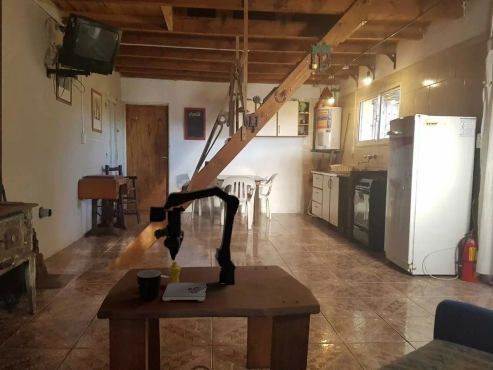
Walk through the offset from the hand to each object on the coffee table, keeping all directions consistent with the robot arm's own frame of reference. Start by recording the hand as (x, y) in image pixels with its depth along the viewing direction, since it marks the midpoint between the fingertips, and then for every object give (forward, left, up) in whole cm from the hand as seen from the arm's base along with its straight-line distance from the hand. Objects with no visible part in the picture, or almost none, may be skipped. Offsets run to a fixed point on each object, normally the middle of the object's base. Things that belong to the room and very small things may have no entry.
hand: (174, 257), depth 157 cm
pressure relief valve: (+3, -1, -12) cm, 13 cm away
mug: (+8, +17, -13) cm, 22 cm away
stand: (-6, +12, -12) cm, 18 cm away
